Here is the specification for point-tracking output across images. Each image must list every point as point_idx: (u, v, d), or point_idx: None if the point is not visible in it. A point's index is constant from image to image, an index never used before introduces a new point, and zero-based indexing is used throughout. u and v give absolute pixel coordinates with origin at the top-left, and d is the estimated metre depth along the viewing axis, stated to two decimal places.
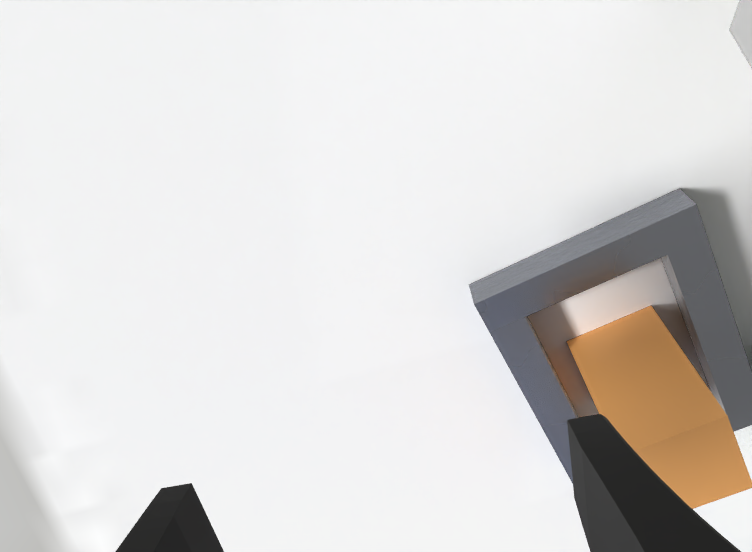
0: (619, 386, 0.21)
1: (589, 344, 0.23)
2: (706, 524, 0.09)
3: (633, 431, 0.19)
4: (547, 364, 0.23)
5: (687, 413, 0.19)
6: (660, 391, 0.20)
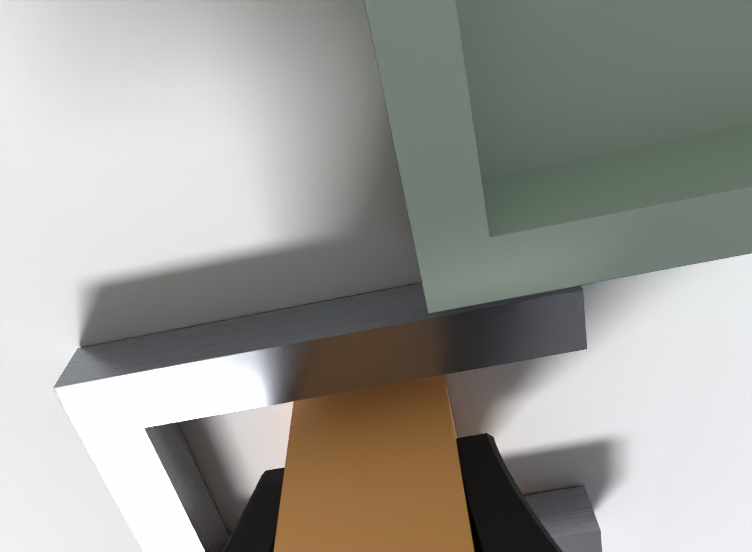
0: None
1: None
2: (558, 547, 0.10)
3: None
4: None
5: None
6: None
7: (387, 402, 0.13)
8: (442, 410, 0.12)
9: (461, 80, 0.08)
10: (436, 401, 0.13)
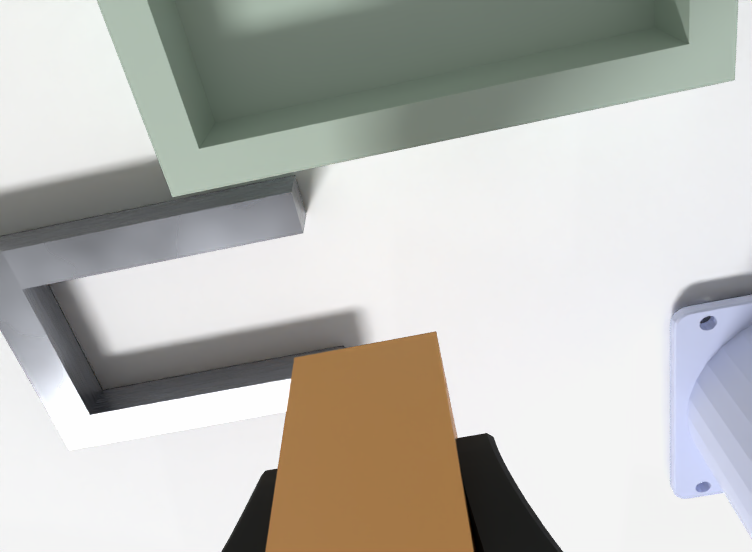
0: None
1: None
2: (557, 546, 0.10)
3: None
4: (155, 404, 0.21)
5: None
6: None
7: (382, 362, 0.14)
8: (434, 368, 0.13)
9: (163, 55, 0.15)
10: (429, 360, 0.13)
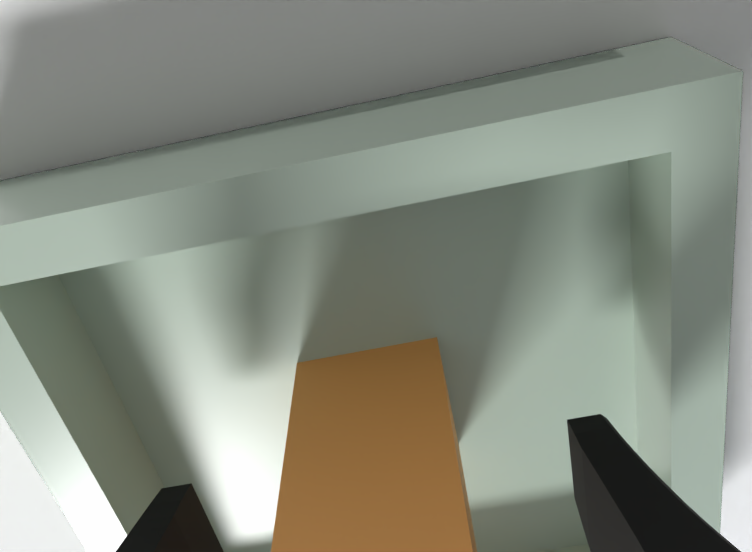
0: None
1: None
2: (707, 524, 0.09)
3: None
4: None
5: None
6: None
7: (384, 367, 0.14)
8: (435, 374, 0.13)
9: None
10: (430, 366, 0.14)
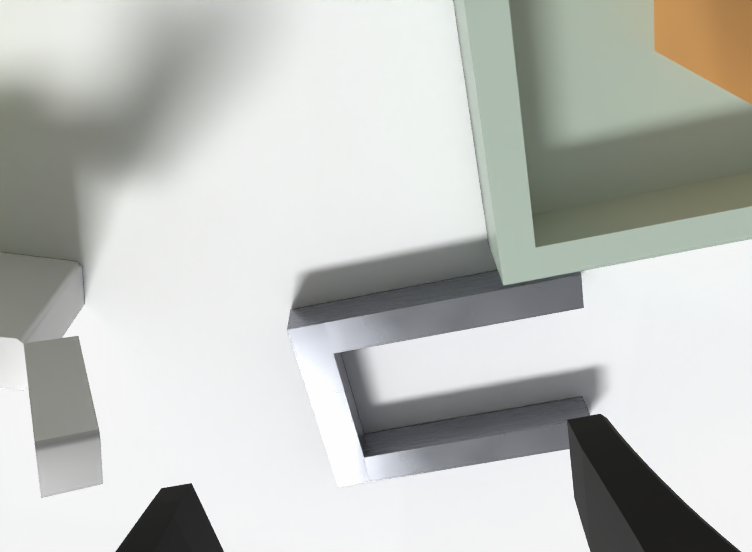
0: (703, 37, 0.15)
1: (663, 30, 0.17)
2: (706, 523, 0.09)
3: (743, 66, 0.14)
4: (422, 448, 0.24)
5: None
6: None
7: None
8: None
9: (525, 176, 0.18)
10: None
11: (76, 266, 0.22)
